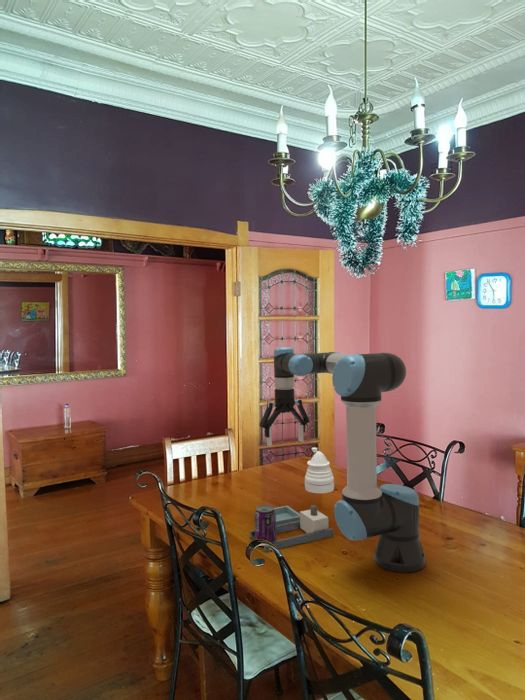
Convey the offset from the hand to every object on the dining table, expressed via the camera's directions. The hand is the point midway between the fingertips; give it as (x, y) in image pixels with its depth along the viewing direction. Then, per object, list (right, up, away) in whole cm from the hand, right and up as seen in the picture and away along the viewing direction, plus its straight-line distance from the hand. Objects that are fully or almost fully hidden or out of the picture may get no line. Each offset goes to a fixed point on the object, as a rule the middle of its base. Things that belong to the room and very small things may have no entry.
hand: (285, 443), depth 195 cm
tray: (-2, -28, -4) cm, 29 cm away
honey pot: (+17, -26, +32) cm, 44 cm away
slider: (+10, -29, -14) cm, 33 cm away
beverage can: (-8, -30, -22) cm, 38 cm away
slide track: (+1, -29, -18) cm, 34 cm away
